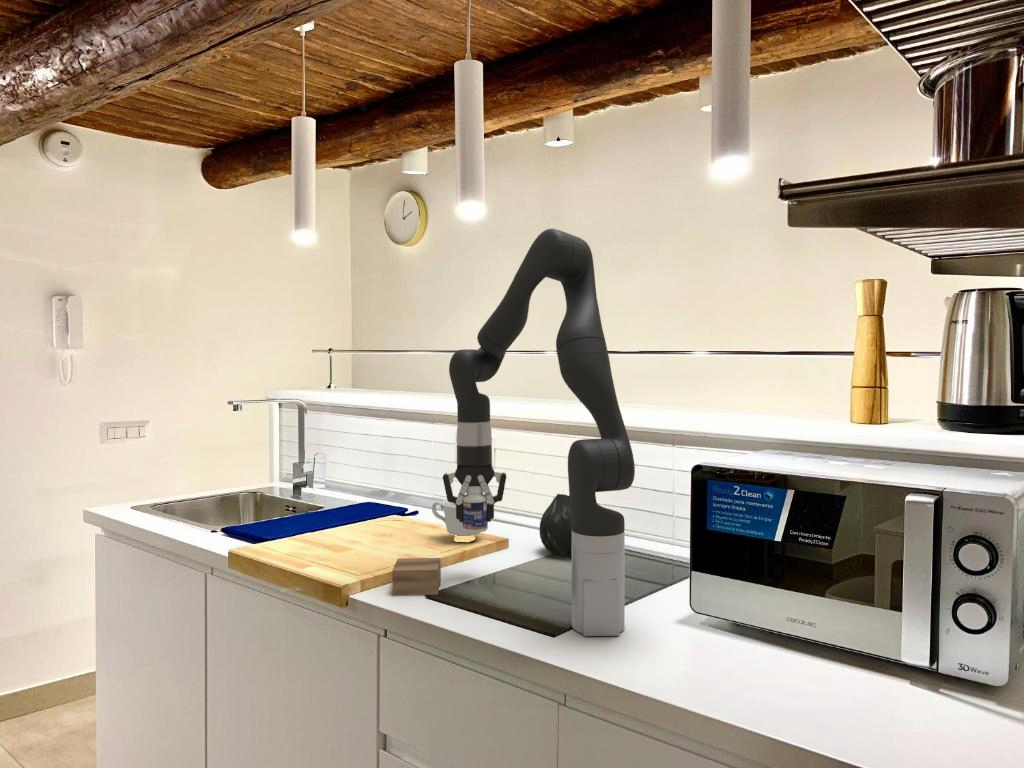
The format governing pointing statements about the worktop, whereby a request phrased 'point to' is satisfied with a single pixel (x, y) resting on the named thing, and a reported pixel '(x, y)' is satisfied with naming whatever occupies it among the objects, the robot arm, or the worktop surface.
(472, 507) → the pill bottle
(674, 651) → the worktop surface
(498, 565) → the worktop surface
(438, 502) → the teacup
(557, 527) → the squash
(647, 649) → the worktop surface
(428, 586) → the plinth
